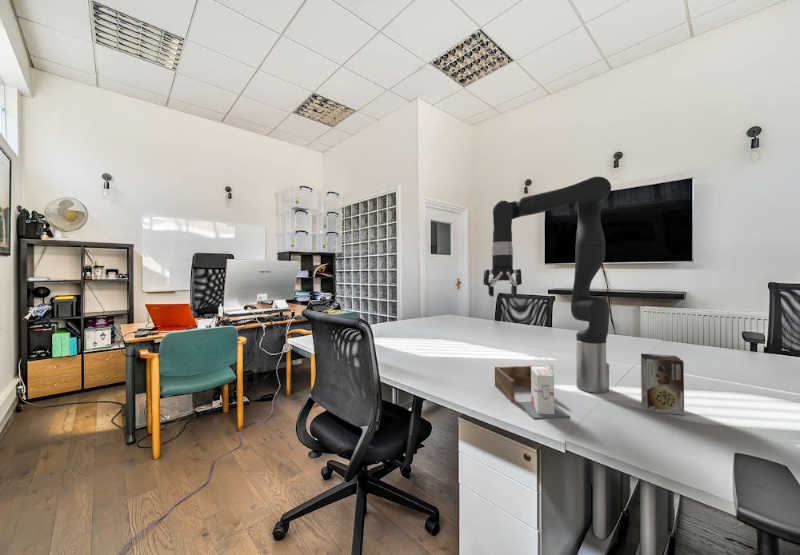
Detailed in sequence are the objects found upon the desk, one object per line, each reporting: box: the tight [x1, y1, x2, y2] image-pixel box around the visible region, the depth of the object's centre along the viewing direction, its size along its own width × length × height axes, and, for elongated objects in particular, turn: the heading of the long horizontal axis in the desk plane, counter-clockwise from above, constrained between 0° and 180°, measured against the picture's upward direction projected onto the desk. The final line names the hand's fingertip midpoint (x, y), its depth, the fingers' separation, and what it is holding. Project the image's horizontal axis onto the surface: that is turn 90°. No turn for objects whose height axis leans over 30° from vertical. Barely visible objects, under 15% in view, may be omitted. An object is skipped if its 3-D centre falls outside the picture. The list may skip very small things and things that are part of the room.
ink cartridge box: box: [530, 357, 555, 415], centre depth 98 cm, size 9×5×15 cm, turn 170°
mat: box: [516, 400, 571, 420], centre depth 98 cm, size 11×11×1 cm
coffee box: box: [640, 353, 685, 416], centre depth 97 cm, size 9×6×16 cm
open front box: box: [494, 365, 533, 403], centre depth 112 cm, size 14×15×7 cm
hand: (502, 296), depth 123 cm, fingers open, 8 cm apart
